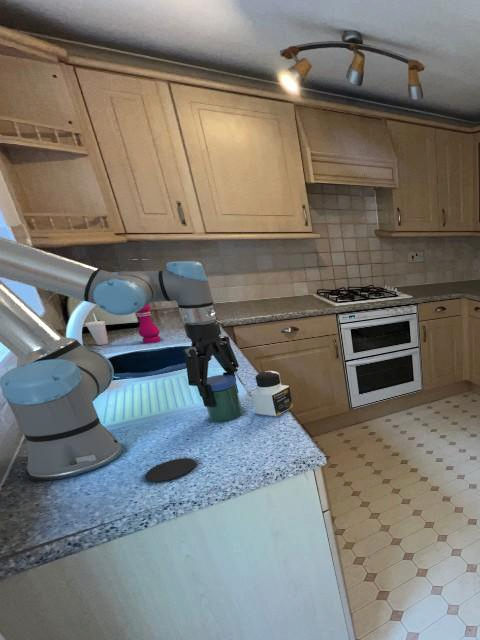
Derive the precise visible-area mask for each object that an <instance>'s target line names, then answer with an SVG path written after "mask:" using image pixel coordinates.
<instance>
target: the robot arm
mask: <svg viewBox="0 0 480 640" xmlns="http://www.w3.org/2000/svg"><path fill="white" fill-rule="evenodd" d="M165 264H166V268H165V269H164V270H143V271H141V270H140V271H139V270H137V271H128V270H122V271H113V272H111V271H107V270H104V269H101V268H98V267H95V266H92V265H89V264H86V263H83V262H80V261H77V260H73V259H71V258H67V257H64V256H61V255H58V254H55V253H51V252H50V251H46V250H43V249H39V248H36V247H33V246H30V245H28V244H24V243H22V242H18V241H15V240H12V239H9V238H5V237H2V236H0V278H2V279H5V280H8V281H9V280H10V281H13V282H16V283H19V284H23V285H27V286H30V287H32V288H33V287H34V288H36V289H37V288H38V289H40V290H44V291H48V292H51V293H54V294H58V295H62V296H65V297H69V298H71V299H75V300H80V301H84V302H87V303H89V304H90V303H91V304H93V305H96V306H97V307H99V308H100V309H101V310H103V311H104V312H106V313H108V314H111V315H114V316H128V315H132V314H134V313H135V314H136V312H138V311H140V310H141V309H143V307H144V306H146V305H147V304H149V305H150V303H159V302H173V301H176V303H177V307H178V311H179V314H180V318H181V321H182V323H183V324H184V325H183V328H184V332H185V335H186V338H187V339H189V340H190V341H191V344H190V345H191V346H190V347H189V348H183V349H182V355H183V357H184V358H185V366H186V375H187V383H188V386H190V387H196V388H197V391H198V394H199V396H200V398H201V399H202V403H203V406H204V407H215V406H216V404H215V401H214V397H213V394H212V390H211V387H210V384H207V378H208V375H209V364H210V363H209V362H210V361H211V358H212V357H214V359H215V360H216V362H217V363H218V364H219V366H220V367H221V368H222V370H224V371H223V372H222V375H232V376H234V377H235V380H236V381H237V377H236V374H235V373H237V372H238V370H239V369H238V368H239V367H240V365H239V362H238V360H237V357H236V355H235V353H234V350H233V348H232V345H231V343H230V342H231V341H230V337H229V336H227V335H226V336H225V335H224V336H223V335H222V336H221V334H222V330H221V326H220V323H219V321H217V319H218V317H217V312H216V308H215V305H214V299H213V296H212V292H211V288H210V284H209V278H208V277H207V275H206V271H205V268H204V265H203V264H202V263H201V262H199V261H194V260H181V261H169V262H166V263H165ZM0 344H2V345H3V346H4V347H5V348H6V349H8V350H9V351H10V352H11V353H12V354H14V355H15V356H16V357H17V362H16V366H15V367H14V368H12V369H9V370H8V371H6V372H4V374H2V376H1V377H0V388H1V394H2V396H3V398H4V399H5V400H6V402H7V404H8V406H9V408H10V410H11V412H12V414H13V416H14V418H15V419H16V421H17V424H18V425H19V428H20V429H21V432H22V433H23V436H24V438H25V440H26V441H27V462H26V469H27V473H28V475H29V476H30V478H31V479H33V480H37V481H55V480H62V479H68V478H72V477H75V476H80V475H82V474H86V473H88V472H92V471H94V470H97V469H100V468H101V467H104V466H105V465H108V464H110V463H112V462H113V461H115V460H116V459H117V458H119V457H120V456H121V455H122V453H123V446H122V444H121V443H120V441H119V440H118V438H116V437H115V436H114V435H113V433H111V432H110V431H109V429H107V428H106V427H105V426H104V425H103V424H102V422H101V420H100V418H99V415H98V413H97V409H96V408H95V405H94V403H93V402H94V401H95V400H96V399H97V398H98V397H99V396H100V395H101V394H103V393H104V392H106V390H107V389H108V388H109V387H110V385H111V383H112V381H113V380H114V377H115V370H114V367H113V364H112V362H111V361H110V360H109V358H107V356H106V355H104V354H102V353H101V352H99V351H98V350H95V349H90V348H87V347H85V346H84V345H83V344H82V343H81V342H80V341H78V340H77V339H76V338H74V337H73V338H72V337H66V336H62V335H61V334H60V333H59V332H58V331H57V330H56V329H54V327H52V326H51V324H49V323H48V322H47V321H46V320H45V319H44V318H42V317H41V316H40V315H39V314H38V313H37V312H36V311H35V310H34V309H33V308H32V307H30V306H29V305H28V304H27V303H26V301H24V300H23V299H22V298H21V297H19V295H17V294H16V293H15V292H14V291H13V290H12V289H11V288H10V287H9V286H8V285H7V284H6V283H4V281H2V280H1V279H0ZM201 380H202V381H201ZM236 388H237V392H238V394H240V393H239V389H238V385H237V383H236Z"/></svg>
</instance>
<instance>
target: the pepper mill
mask: <svg viewBox="0 0 480 640" xmlns="http://www.w3.org/2000/svg"><path fill="white" fill-rule="evenodd" d="M150 310H151V305H150V303H149V304H147V305H146V306H144V307H143V309H141V310H140V311H138V312H135V316H136V317H137V318H138V319H139V327H138V335H139V336H140V337H142V343H144V344H155V343H158V342H161V341H162V339H161V336H159V335H160V334H161V332H160V329H159V328H158V327H157V325H156V324H155V323H154V322H153V321H152V318H151V315H152V313H151V311H150Z"/></svg>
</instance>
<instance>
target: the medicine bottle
mask: <svg viewBox="0 0 480 640" xmlns="http://www.w3.org/2000/svg"><path fill="white" fill-rule="evenodd" d="M254 378H255V382H256V387H257V389H254V390H253V391H251V392H250V393H251V398H252V402H253V406H254V410H255V414H256V415H261V416H270V417H278V416H280V415H282V414H284V413H285V412H287V411H288V410H290V409H292V408H293V407H294V404H293V399H292V394H291V390H290V386H289V385H285V384H282V381H281V375H280V373H279V372H278V371H274V370H265V371H262V372H259V373H258V374H256V376H255V377H254Z"/></svg>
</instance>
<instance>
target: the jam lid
mask: <svg viewBox="0 0 480 640" xmlns="http://www.w3.org/2000/svg"><path fill="white" fill-rule="evenodd" d="M235 377H236V376H235ZM235 377H234V376H232V375H223V374H220V375H219V374H217V375H211V376H209V377H208V376H207V384H210V387H211V390H212V391H220V390H224V389H228V388H230V387H233V386H234V385H235V384H237V379H236V380H235ZM201 381H202V380H201Z"/></svg>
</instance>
